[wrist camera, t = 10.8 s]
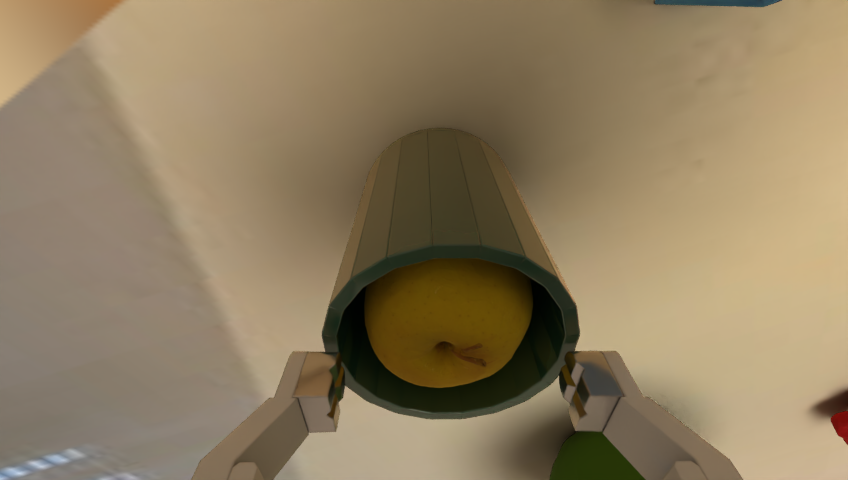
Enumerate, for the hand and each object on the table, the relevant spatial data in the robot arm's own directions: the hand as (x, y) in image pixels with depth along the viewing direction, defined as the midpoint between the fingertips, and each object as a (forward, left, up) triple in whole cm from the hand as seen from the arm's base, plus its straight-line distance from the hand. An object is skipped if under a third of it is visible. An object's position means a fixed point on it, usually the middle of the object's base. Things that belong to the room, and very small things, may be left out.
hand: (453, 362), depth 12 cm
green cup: (0, 0, -12) cm, 12 cm away
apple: (0, 0, -7) cm, 7 cm away
